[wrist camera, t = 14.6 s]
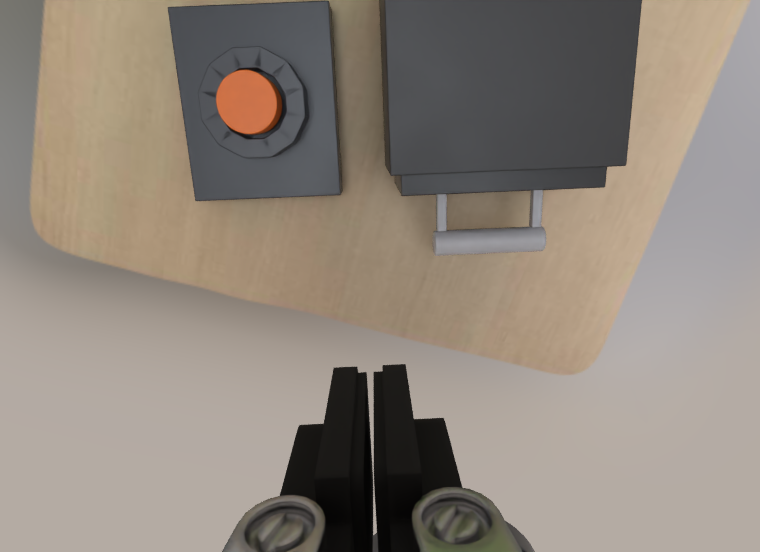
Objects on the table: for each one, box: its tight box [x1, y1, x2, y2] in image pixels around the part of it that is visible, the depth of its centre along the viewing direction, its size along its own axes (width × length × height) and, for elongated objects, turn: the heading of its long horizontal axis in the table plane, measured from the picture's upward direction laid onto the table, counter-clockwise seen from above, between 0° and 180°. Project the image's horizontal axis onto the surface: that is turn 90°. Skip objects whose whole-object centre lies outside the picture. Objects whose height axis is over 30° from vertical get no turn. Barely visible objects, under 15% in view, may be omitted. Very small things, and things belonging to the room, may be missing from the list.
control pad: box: [168, 1, 342, 201], centre depth 32 cm, size 12×10×4 cm
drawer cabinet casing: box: [379, 0, 642, 176], centre depth 28 cm, size 15×13×10 cm
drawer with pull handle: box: [395, 167, 607, 256], centre depth 30 cm, size 18×11×8 cm, turn 2°
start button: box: [216, 70, 282, 134], centre depth 30 cm, size 4×4×2 cm
